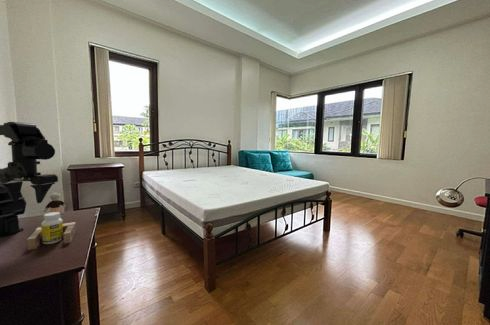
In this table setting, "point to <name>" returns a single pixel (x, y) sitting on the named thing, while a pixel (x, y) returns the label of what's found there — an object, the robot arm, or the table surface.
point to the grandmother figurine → (54, 203)
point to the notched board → (36, 237)
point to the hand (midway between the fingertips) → (27, 202)
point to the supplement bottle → (52, 228)
